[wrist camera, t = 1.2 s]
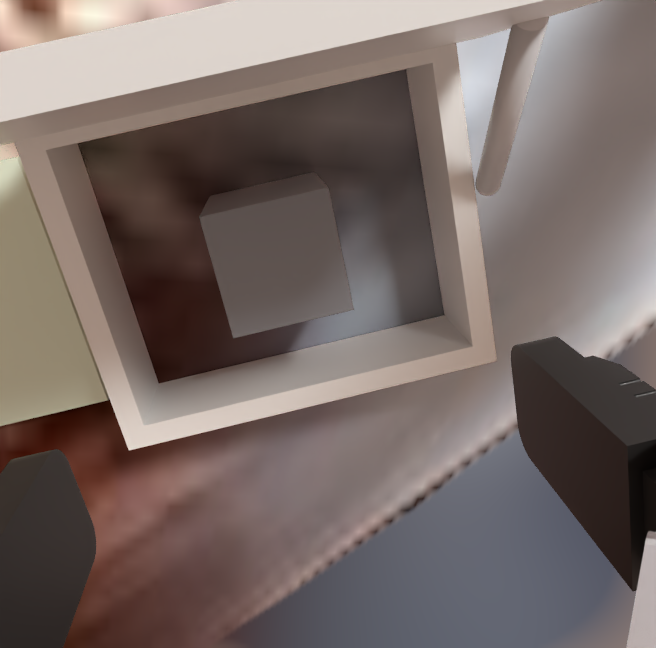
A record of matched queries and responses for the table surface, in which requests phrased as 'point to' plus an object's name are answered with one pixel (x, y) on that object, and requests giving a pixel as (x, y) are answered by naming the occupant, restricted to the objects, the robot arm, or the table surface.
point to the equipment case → (244, 89)
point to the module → (276, 254)
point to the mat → (37, 315)
